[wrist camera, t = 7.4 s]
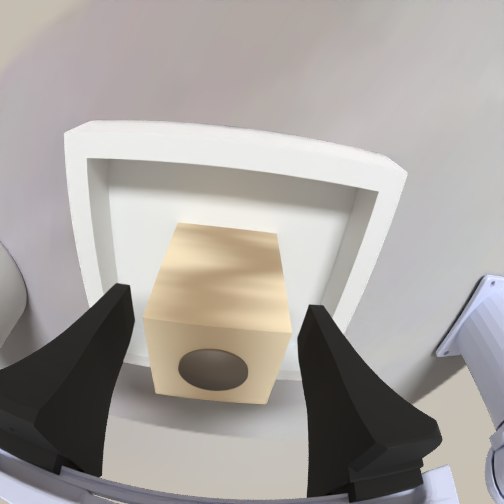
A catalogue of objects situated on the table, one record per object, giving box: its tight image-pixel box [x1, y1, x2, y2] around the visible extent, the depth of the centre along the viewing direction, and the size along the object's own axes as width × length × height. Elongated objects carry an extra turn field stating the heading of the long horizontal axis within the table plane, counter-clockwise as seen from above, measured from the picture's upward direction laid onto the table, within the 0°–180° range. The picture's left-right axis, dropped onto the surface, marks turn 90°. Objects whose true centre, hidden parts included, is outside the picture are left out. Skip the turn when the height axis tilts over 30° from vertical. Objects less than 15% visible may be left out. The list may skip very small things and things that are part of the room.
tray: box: [64, 120, 408, 380], centre depth 14 cm, size 13×13×2 cm
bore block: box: [143, 222, 292, 404], centre depth 13 cm, size 4×4×6 cm
